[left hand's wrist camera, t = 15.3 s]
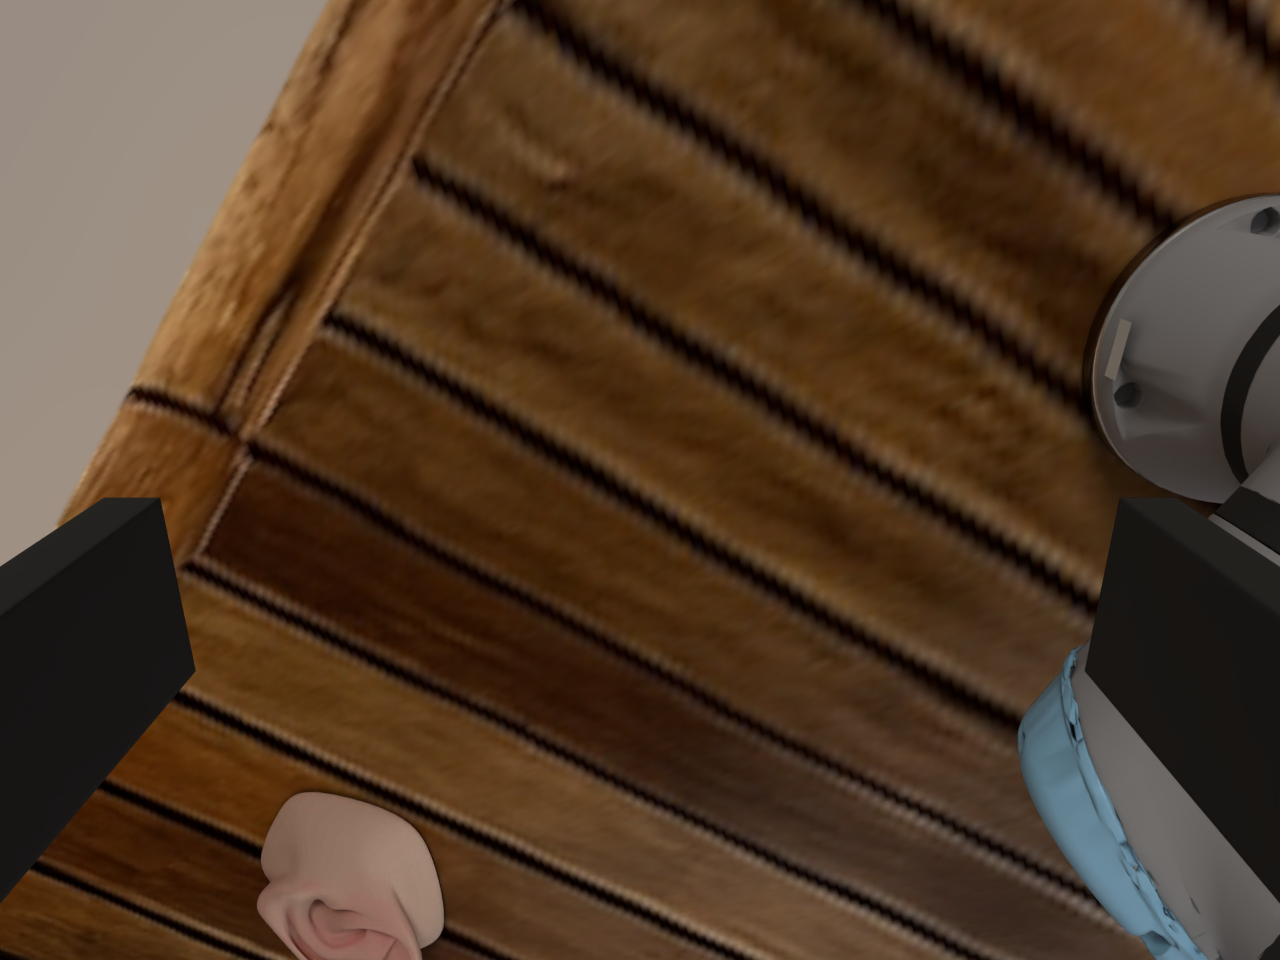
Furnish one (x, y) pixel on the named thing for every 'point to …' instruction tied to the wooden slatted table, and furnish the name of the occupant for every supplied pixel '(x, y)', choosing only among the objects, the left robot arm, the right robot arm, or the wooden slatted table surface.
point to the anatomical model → (348, 881)
